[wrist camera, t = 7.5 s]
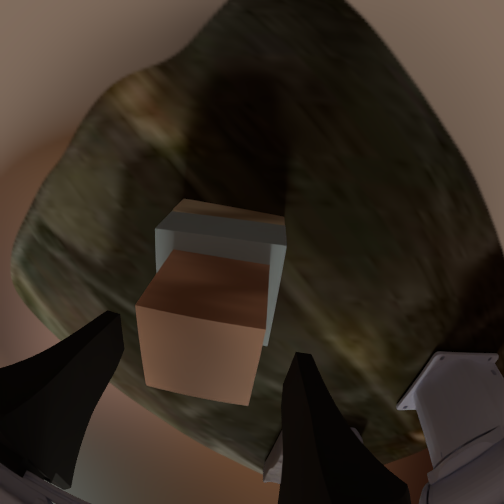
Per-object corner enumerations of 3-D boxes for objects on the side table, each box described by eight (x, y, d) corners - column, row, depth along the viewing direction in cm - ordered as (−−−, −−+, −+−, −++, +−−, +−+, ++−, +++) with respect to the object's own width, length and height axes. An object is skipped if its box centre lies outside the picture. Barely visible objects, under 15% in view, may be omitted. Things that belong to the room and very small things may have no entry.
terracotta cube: (269, 265, 14) (266, 329, 10) (255, 338, 16) (247, 405, 12) (173, 249, 14) (135, 305, 10) (173, 323, 16) (146, 385, 12)
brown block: (284, 214, 18) (285, 230, 16) (264, 297, 20) (263, 320, 18) (185, 196, 18) (172, 209, 16) (179, 280, 20) (168, 300, 18)
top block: (285, 225, 16) (286, 245, 13) (268, 317, 18) (267, 345, 16) (172, 211, 16) (155, 228, 13) (172, 303, 18) (160, 328, 16)
